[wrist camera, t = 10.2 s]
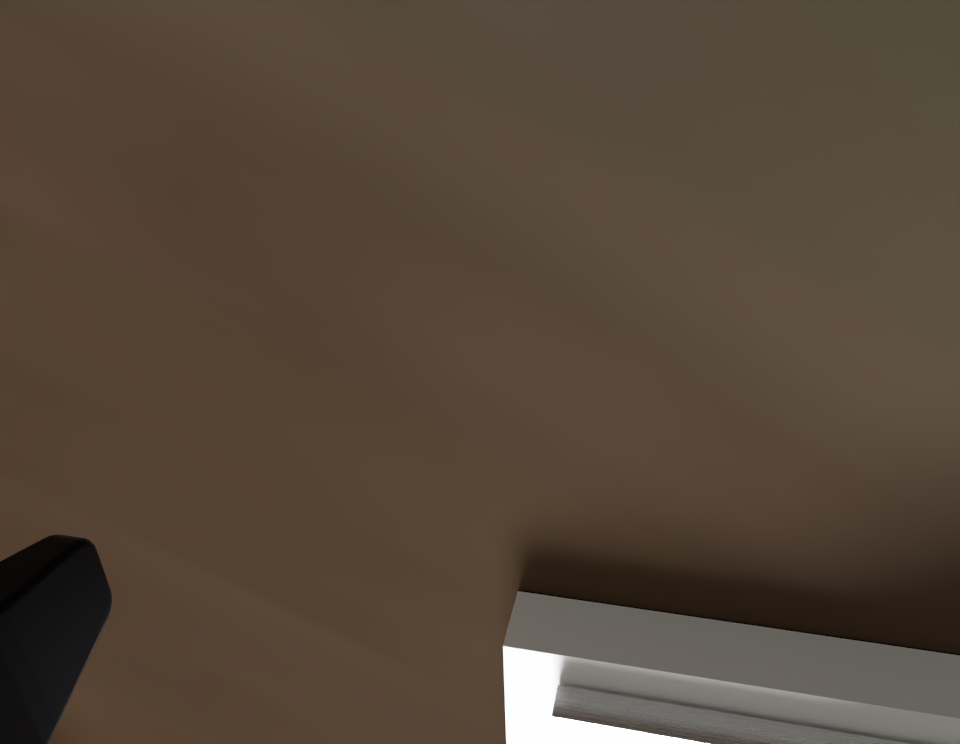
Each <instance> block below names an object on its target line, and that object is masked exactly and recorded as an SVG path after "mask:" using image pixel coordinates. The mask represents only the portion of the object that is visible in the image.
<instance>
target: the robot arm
mask: <svg viewBox="0 0 960 744" xmlns="http://www.w3.org/2000/svg"><path fill="white" fill-rule="evenodd" d="M111 604H112V594H111V590H110V587H109V584H108V581H107V578H106V575H105V573H104V570H103V567H102V564H101V561H100V558H99V555H98V553H97V550H96V548H95V546H94V544H93V543H92V542H91V541H89V540H87V539H85V538H79V537H72V536H65V535H52V536H48V537H46V538H44V539H42V540H40V541H38V542H36V543H34V544H33V545H31V546H29V547H27V548H25V549H23V550H21V551H19V552H17V553H15V554H14V555H12V556H10V557H8V558H6V559H4V560H2V561H0V744H48V742H49V740H50V738H51V736H52V734H53V732H54V730H55V728H56V726H57V724H58V722H59V720H60V718H61V716H62V714H63V712H64V710H65V708H66V705H67V703H68V701H69V699H70V697H71V695H72V693H73V691H74V689H75V687H76V684H77V682H78V680H79V678H80V676H81V674H82V672H83V670H84V668H85V665H86V663H87V661H88V659H89V657H90V655H91V653H92V651H93V649H94V647H95V644H96V642H97V640H98V638H99V636H100V634H101V632H102V630H103V628H104V625H105V623H106V621H107V619H108V616H109V614H110V610H111Z"/></svg>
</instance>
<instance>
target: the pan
mask: <svg viewBox="0 0 960 744" xmlns="http://www.w3.org/2000/svg"><path fill="white" fill-rule="evenodd" d="M552 744H911V743H905V742H899V741H893V740H887V739H881V738H875V737H869V736H863V735H857V734H851V733H845V732H839V731H833V730H827V729H821V728H815V727H809V726H803V725H797V724H791V723H785V722H779V721H773V720H767V719H761V718H755V717H749V716H743V715H737V714H731V713H725V712H719V711H713V710H707V709H701V708H695V707H689V706H683V705H677V704H671V703H665V702H659V701H653V700H647V699H641V698H635V697H629V696H622V695H616V694H610V693H604V692H598V691H592V690H586V689H580V688H574V687H568V686H562V685H558V688H557V693H556V698H555V703H554V708H553V713H552Z"/></svg>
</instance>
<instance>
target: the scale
mask: <svg viewBox="0 0 960 744" xmlns="http://www.w3.org/2000/svg"><path fill="white" fill-rule="evenodd" d="M503 664H504V694H505V724H506V744H552V713H553V708H554V703H555V698H556V693H557V688H558V685H562V686H568V687H574V688H580V689H586V690H592V691H598V692H604V693H610V694H616V695H622V696H629V697H635V698H641V699H647V700H653V701H659V702H665V703H671V704H677V705H683V706H689V707H695V708H701V709H707V710H713V711H719V712H725V713H731V714H737V715H743V716H749V717H755V718H761V719H767V720H773V721H779V722H785V723H791V724H797V725H803V726H809V727H815V728H821V729H827V730H833V731H839V732H845V733H851V734H857V735H863V736H869V737H875V738H881V739H887V740H893V741H899V742H905V743H911V744H960V655H953V654H946V653H939V652H932V651H925V650H918V649H912V648H905V647H898V646H891V645H884V644H877V643H870V642H864V641H857V640H850V639H843V638H836V637H829V636H822V635H815V634H809V633H802V632H795V631H788V630H781V629H774V628H767V627H761V626H754V625H747V624H740V623H733V622H726V621H719V620H712V619H706V618H699V617H692V616H685V615H678V614H671V613H664V612H658V611H651V610H644V609H637V608H630V607H623V606H616V605H609V604H603V603H596V602H589V601H582V600H575V599H568V598H561V597H555V596H548V595H541V594H534V593H527V592H520V591H518V592H517V595H516V599H515V603H514V607H513V610H512V614H511V618H510V621H509V625H508V629H507V632H506V636H505V640H504V644H503Z"/></svg>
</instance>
